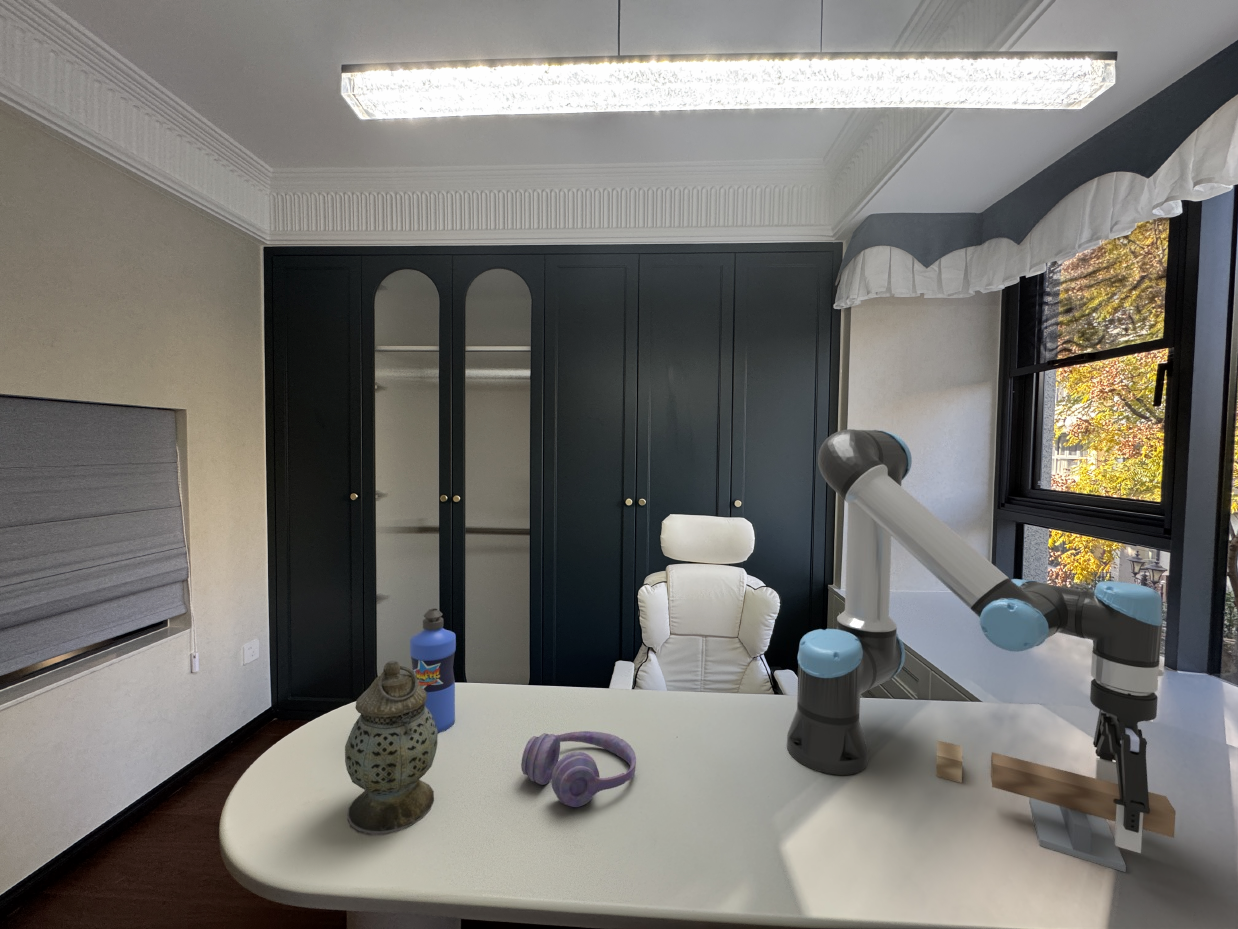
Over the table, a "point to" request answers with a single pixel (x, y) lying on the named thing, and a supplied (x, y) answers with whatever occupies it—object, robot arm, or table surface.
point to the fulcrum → (1076, 834)
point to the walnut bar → (1074, 791)
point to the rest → (949, 761)
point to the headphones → (574, 765)
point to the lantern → (391, 754)
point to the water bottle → (435, 668)
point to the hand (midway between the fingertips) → (1115, 822)
